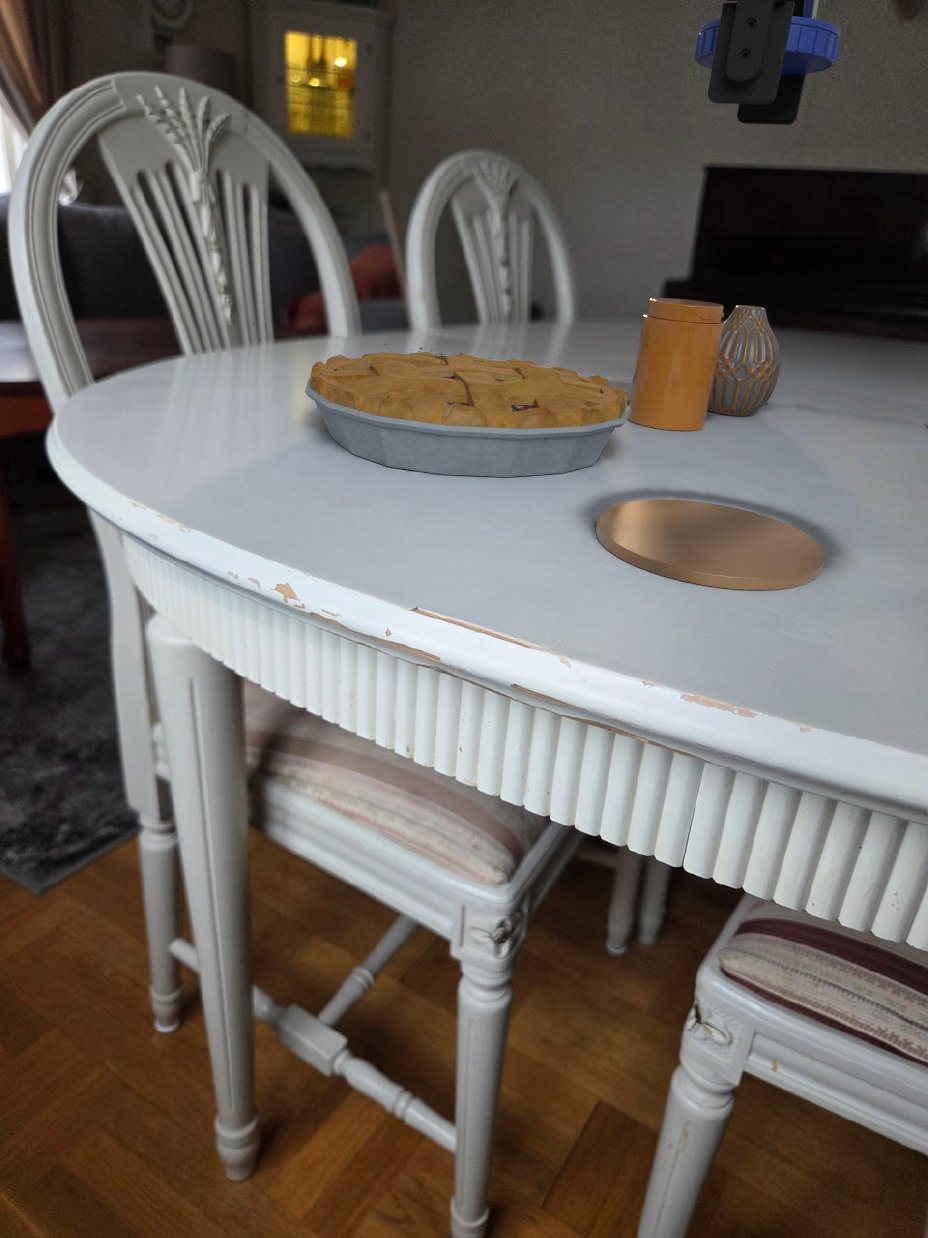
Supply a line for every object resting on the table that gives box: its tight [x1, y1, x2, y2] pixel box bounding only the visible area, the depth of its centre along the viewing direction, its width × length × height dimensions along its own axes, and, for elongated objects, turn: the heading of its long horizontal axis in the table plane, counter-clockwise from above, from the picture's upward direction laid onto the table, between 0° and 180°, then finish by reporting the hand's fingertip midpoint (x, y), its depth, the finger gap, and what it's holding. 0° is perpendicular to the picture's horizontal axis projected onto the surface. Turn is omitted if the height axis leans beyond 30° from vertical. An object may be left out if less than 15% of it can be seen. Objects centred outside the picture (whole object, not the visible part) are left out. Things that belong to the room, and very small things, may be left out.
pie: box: [304, 351, 631, 478], centre depth 56 cm, size 22×22×5 cm
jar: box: [627, 297, 725, 432], centre depth 66 cm, size 6×6×9 cm
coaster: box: [595, 498, 826, 591], centre depth 41 cm, size 11×11×1 cm
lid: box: [693, 16, 841, 75], centre depth 42 cm, size 7×7×1 cm
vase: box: [707, 304, 781, 417], centre depth 72 cm, size 7×7×9 cm
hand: (754, 110), depth 44 cm, fingers closed on lid, 6 cm apart
